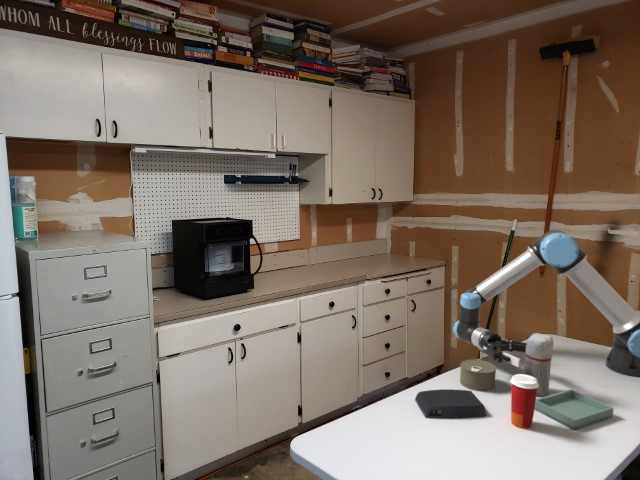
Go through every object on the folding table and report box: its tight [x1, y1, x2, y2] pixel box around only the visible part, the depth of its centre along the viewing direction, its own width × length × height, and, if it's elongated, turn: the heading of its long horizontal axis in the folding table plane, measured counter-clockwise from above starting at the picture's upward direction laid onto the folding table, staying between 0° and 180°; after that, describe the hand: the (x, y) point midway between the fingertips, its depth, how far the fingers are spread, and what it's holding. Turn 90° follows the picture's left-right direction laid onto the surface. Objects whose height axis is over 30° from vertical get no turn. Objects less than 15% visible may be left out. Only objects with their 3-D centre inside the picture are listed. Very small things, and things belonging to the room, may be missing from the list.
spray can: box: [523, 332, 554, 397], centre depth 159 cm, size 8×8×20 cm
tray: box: [534, 388, 614, 431], centre depth 146 cm, size 18×14×3 cm
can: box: [459, 358, 497, 392], centre depth 166 cm, size 12×12×7 cm
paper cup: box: [509, 373, 539, 430], centre depth 139 cm, size 8×8×14 cm
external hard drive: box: [414, 388, 488, 420], centre depth 148 cm, size 13×19×4 cm
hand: (533, 360), depth 160 cm, fingers open, 13 cm apart
